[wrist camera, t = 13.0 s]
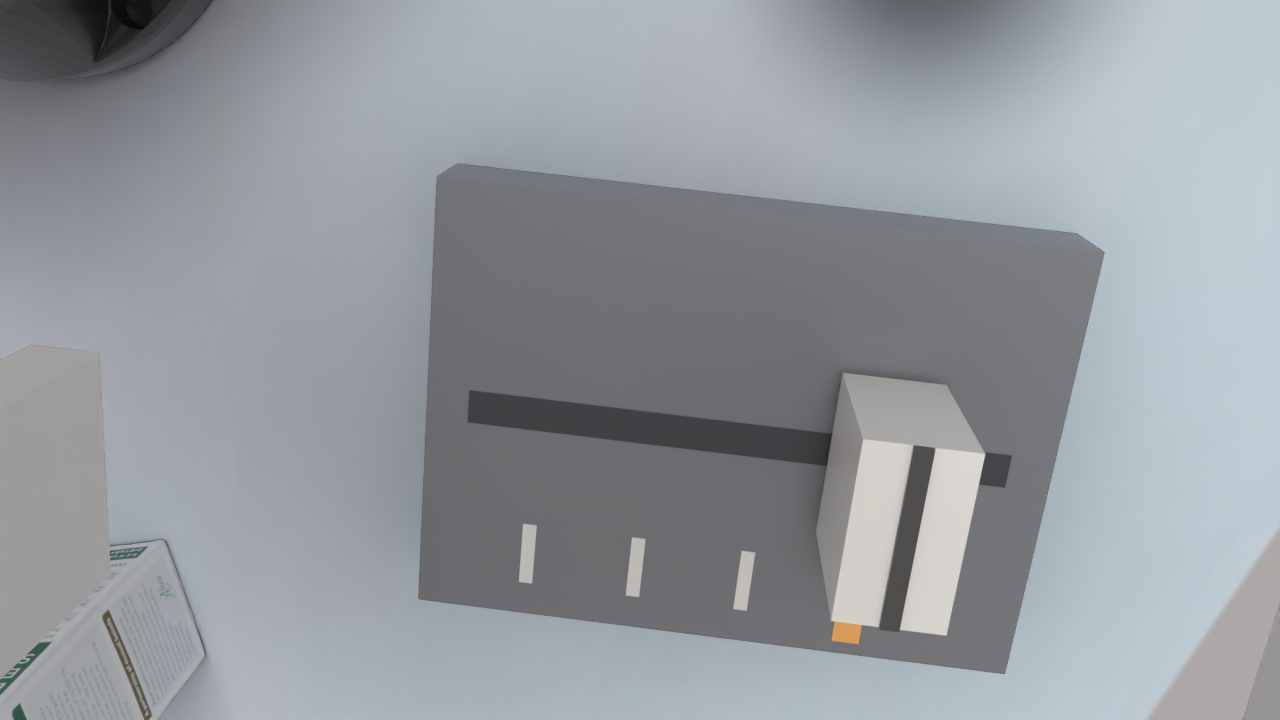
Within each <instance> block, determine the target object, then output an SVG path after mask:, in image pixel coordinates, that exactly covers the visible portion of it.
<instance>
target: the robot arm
mask: <svg viewBox="0 0 1280 720" xmlns="http://www.w3.org/2000/svg"><path fill="white" fill-rule="evenodd" d="M210 1H211V0H0V79H7V80H15V81H29V82H31V81H55V80H64V79H73V78H81V77H89V76H95V75H100V74H105V73H109V72H113V71H117V70H120V69H123V68H126V67H128V66H131V65H134V64H136V63H138V62H140V61H142V60H144V59H146V58H148V57H150V56H152V55H153V54H155V53H157V52H159V51H160V50H162V49H163V48H165V47H166V46H167V45H169V44H170V43H172V42H173V41H174V40H175V39H177V38H178V37H179V36H180V35H181V34H183V33H184V32H185V31H186V30H187V29H188V28H189V27H190V26H191V25H192V24H193V23H194V22H195V20H196V19H197V18H198V17H199V16H200V15H201V13H202V12H203V11H204V10H205V8H206V7H207V6H208V4H209V3H210ZM110 575H111V565H110V546H109V527H108V509H107V490H106V471H105V453H104V434H103V415H102V397H101V378H100V359H99V353H97V352H88V351H80V350H72V349H63V348H55V347H47V346H39V345H30V346H28V347H26V348H24V349H22V350H20V351H18V352H16V353H14V354H12V355H10V356H8V357H6V358H4V359H2V360H0V679H1V678H2V677H3V676H5V675H6V674H7V673H8V672H9V671H10V670H11V669H12V668H13V667H14V666H15V665H16V664H17V663H18V662H19V661H20V660H21V659H23V658H24V657H25V656H26V655H27V654H28V653H29V652H30V651H31V650H32V649H33V648H34V647H35V646H36V645H37V644H38V643H39V642H41V641H42V640H43V639H44V638H45V637H46V636H47V635H48V634H49V633H50V632H51V631H52V630H53V629H54V628H55V627H56V626H57V625H59V624H60V623H61V622H62V621H63V620H64V619H65V618H66V617H67V616H68V615H69V614H70V613H71V612H72V611H73V610H74V609H75V608H77V607H78V606H79V605H80V604H81V603H82V602H83V601H84V600H85V599H86V598H87V597H88V596H89V595H90V594H91V593H92V592H93V591H95V590H96V589H97V588H98V587H99V586H100V585H101V584H102V583H103V582H104V581H105V580H106V579H107V578H108V577H109V576H110ZM1242 720H1280V603H1279V606H1278V610H1277V613H1276V616H1275V619H1274V622H1273V625H1272V628H1271V632H1270V635H1269V638H1268V641H1267V644H1266V647H1265V650H1264V654H1263V657H1262V660H1261V663H1260V666H1259V669H1258V672H1257V675H1256V679H1255V682H1254V685H1253V688H1252V691H1251V694H1250V698H1249V701H1248V704H1247V707H1246V710H1245V713H1244V716H1243V719H1242Z"/></svg>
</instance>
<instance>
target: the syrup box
mask: <svg viewBox="0 0 1280 720" xmlns="http://www.w3.org/2000/svg"><path fill="white" fill-rule="evenodd" d="M110 565H111V575H110V576H109V577H108V578H107V579H106V580H105V581H104V582H103V583H102V584H101V585H100V586H99V587H98V588H97V589H96V590H95V591H93V592H92V593H91V594H90V595H89V596H88V597H87V598H86V599H85V600H84V601H83V602H82V603H81V604H80V605H79V606H78V607H77V608H75V609H74V610H73V611H72V612H71V613H70V614H69V615H68V616H67V617H66V618H65V619H64V620H63V621H62V622H61V623H60V624H59V625H57V626H56V627H55V628H54V629H53V630H52V631H51V632H50V633H49V634H48V635H47V636H46V637H45V638H44V639H43V640H42V641H41V642H39V643H38V644H37V645H36V646H35V647H34V648H33V649H32V650H31V651H30V652H29V653H28V654H27V655H26V656H25V657H24V658H23V659H21V660H20V661H19V662H18V663H17V664H16V665H15V666H14V667H13V668H12V669H11V670H10V671H9V672H8V673H7V674H6V675H5V676H3V677H2V678H1V679H0V720H157V719H158V718H159V717H160V715H161V714H162V713H163V711H164V710H165V709H166V708H167V706H168V705H169V704H170V702H171V701H172V700H173V698H174V697H175V696H176V694H177V693H178V692H179V690H180V689H181V687H182V686H183V685H184V684H185V682H186V681H187V680H188V678H189V677H190V676H191V675H192V673H193V672H194V671H195V669H196V668H197V667H198V665H199V664H200V662H201V661H202V659H203V658H204V650H203V646H202V643H201V640H200V637H199V634H198V631H197V628H196V624H195V621H194V618H193V615H192V612H191V610H190V607H189V604H188V601H187V598H186V596H185V593H184V591H183V588H182V585H181V582H180V579H179V577H178V574H177V571H176V569H175V566H174V563H173V560H172V557H171V555H170V552H169V550H168V547H167V544H166V542H165V540H156V541H151V542H145V543H136V544H130V545H118V546H111V547H110Z"/></svg>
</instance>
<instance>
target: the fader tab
mask: <svg viewBox="0 0 1280 720" xmlns="http://www.w3.org/2000/svg"><path fill="white" fill-rule="evenodd" d="M984 458H985V452H984V451H983V449H982V447H981V445H980V443H979V442H978V440H977V438H976V436H975V435H974V433H973V431H972V429H971V428H970V426H969V424H968V422H967V420H966V419H965V417H964V415H963V413H962V412H961V410H960V408H959V406H958V405H957V403H956V401H955V399H954V398H953V396H952V394H951V392H950V390H949V389H948V387H947V385H943V384H934V383H926V382H917V381H909V380H901V379H892V378H884V377H875V376H867V375H858V374H850V373H842V379H841V385H840V391H839V397H838V403H837V409H836V415H835V421H834V427H833V433H832V439H831V445H830V451H829V457H828V463H827V469H826V475H825V481H824V487H823V493H822V499H821V505H820V511H819V517H818V523H817V529H816V535H817V541H818V547H819V553H820V559H821V565H822V570H823V576H824V582H825V588H826V594H827V600H828V606H829V612H830V618H831V621H834V622H842V623H850V624H858V625H866V626H874V627H879V630H885V631H893V632H899V631H900V630H905V631H913V632H921V633H929V634H937V635H945V636H946V635H947V631H948V626H949V621H950V617H951V612H952V607H953V603H954V598H955V593H956V589H957V584H958V579H959V575H960V570H961V565H962V561H963V556H964V551H965V547H966V542H967V537H968V533H969V528H970V523H971V519H972V514H973V509H974V505H975V500H976V495H977V491H978V486H979V481H980V477H981V472H982V468H983V463H984Z"/></svg>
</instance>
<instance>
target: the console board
mask: <svg viewBox="0 0 1280 720" xmlns="http://www.w3.org/2000/svg"><path fill="white" fill-rule="evenodd" d="M1104 253H1105V252H1104V251H1102V250H1101V249H1099V248H1098V247H1096V246H1095V245H1093V244H1092V243H1090V242H1089V241H1087V240H1086V239H1084V238H1083V237H1082V236H1080V235H1079V234H1076V233H1068V232H1059V231H1050V230H1041V229H1032V228H1023V227H1014V226H1006V225H997V224H988V223H979V222H970V221H961V220H952V219H944V218H935V217H926V216H917V215H908V214H899V213H891V212H882V211H873V210H864V209H855V208H846V207H837V206H829V205H820V204H811V203H802V202H793V201H784V200H775V199H767V198H758V197H749V196H740V195H731V194H722V193H713V192H705V191H696V190H687V189H678V188H669V187H660V186H652V185H643V184H634V183H625V182H616V181H607V180H598V179H590V178H581V177H572V176H563V175H554V174H545V173H536V172H528V171H519V170H510V169H501V168H492V167H483V166H474V165H466V164H456V165H454V166H453V167H451V168H449V169H448V170H446V171H445V172H443V173H442V174H440V175H438V176H437V184H436V207H435V230H434V253H433V276H432V298H431V321H430V344H429V367H428V390H427V412H426V435H425V458H424V481H423V503H422V526H421V549H420V572H419V595H418V599H421V600H428V601H436V602H444V603H452V604H460V605H467V606H475V607H483V608H491V609H499V610H507V611H514V612H522V613H530V614H538V615H546V616H554V617H561V618H569V619H577V620H585V621H593V622H601V623H608V624H616V625H624V626H632V627H640V628H648V629H655V630H663V631H671V632H679V633H687V634H694V635H702V636H710V637H718V638H726V639H734V640H741V641H749V642H757V643H765V644H773V645H781V646H788V647H796V648H804V649H812V650H820V651H828V652H835V653H843V654H851V655H859V656H867V657H875V658H882V659H890V660H898V661H906V662H914V663H922V664H929V665H937V666H945V667H953V668H961V669H968V670H976V671H984V672H992V673H1000V674H1005V672H1006V668H1007V663H1008V659H1009V655H1010V651H1011V646H1012V642H1013V638H1014V634H1015V629H1016V625H1017V621H1018V617H1019V613H1020V608H1021V604H1022V600H1023V596H1024V591H1025V587H1026V583H1027V579H1028V574H1029V570H1030V566H1031V562H1032V558H1033V553H1034V549H1035V545H1036V541H1037V536H1038V532H1039V528H1040V524H1041V519H1042V515H1043V511H1044V507H1045V502H1046V498H1047V494H1048V490H1049V486H1050V481H1051V477H1052V473H1053V469H1054V464H1055V460H1056V456H1057V452H1058V447H1059V443H1060V439H1061V435H1062V431H1063V426H1064V422H1065V418H1066V414H1067V409H1068V405H1069V401H1070V397H1071V392H1072V388H1073V384H1074V380H1075V375H1076V371H1077V367H1078V363H1079V359H1080V354H1081V350H1082V346H1083V342H1084V337H1085V333H1086V329H1087V325H1088V320H1089V316H1090V312H1091V308H1092V304H1093V299H1094V295H1095V291H1096V287H1097V282H1098V278H1099V274H1100V270H1101V265H1102V261H1103V257H1104ZM842 373H850V374H858V375H867V376H875V377H884V378H892V379H901V380H909V381H917V382H926V383H934V384H943V385H947V387H948V389H949V390H950V392H951V394H952V396H953V398H954V399H955V401H956V403H957V405H958V406H959V408H960V410H961V412H962V413H963V415H964V417H965V419H966V420H967V422H968V424H969V426H970V428H971V429H972V431H973V433H974V435H975V436H976V438H977V440H978V442H979V443H980V445H981V447H982V449H983V451H984V452H985V458H984V463H983V468H982V472H981V477H980V481H979V486H978V491H977V495H976V500H975V505H974V509H973V514H972V519H971V523H970V528H969V533H968V537H967V542H966V547H965V551H964V556H963V561H962V565H961V570H960V575H959V579H958V584H957V589H956V593H955V598H954V603H953V607H952V612H951V617H950V621H949V626H948V631H947V635H946V636H945V635H937V634H929V633H921V632H913V631H905V630H900V631H899V632H893V631H885V630H879V627H874V626H866V625H858V624H850V623H842V622H834V621H831V618H830V612H829V606H828V600H827V594H826V588H825V582H824V576H823V570H822V565H821V559H820V553H819V547H818V541H817V535H816V529H817V523H818V517H819V511H820V505H821V499H822V493H823V487H824V481H825V475H826V469H827V463H828V457H829V451H830V445H831V439H832V433H833V427H834V421H835V415H836V409H837V403H838V397H839V391H840V385H841V379H842Z"/></svg>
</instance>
